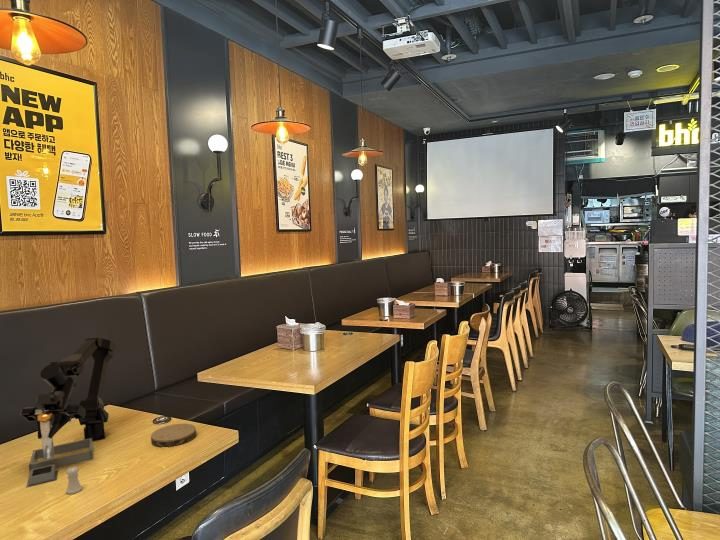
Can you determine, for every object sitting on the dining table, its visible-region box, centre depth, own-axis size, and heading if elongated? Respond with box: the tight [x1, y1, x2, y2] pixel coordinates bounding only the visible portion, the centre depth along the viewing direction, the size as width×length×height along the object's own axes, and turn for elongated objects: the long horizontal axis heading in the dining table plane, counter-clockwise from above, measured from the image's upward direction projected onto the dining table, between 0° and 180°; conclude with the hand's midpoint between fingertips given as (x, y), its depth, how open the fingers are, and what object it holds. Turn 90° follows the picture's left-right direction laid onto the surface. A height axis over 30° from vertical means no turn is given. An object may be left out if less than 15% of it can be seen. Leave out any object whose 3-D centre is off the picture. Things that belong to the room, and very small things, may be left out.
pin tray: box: [28, 438, 94, 471], centre depth 165 cm, size 18×13×4 cm
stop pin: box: [37, 412, 55, 461], centre depth 155 cm, size 4×4×14 cm
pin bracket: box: [25, 464, 59, 488], centre depth 151 cm, size 8×8×4 cm
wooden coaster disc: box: [150, 423, 197, 449], centre depth 181 cm, size 16×16×3 cm
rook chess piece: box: [65, 465, 83, 495], centre depth 143 cm, size 4×4×8 cm
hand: (44, 438), depth 153 cm, fingers closed on stop pin, 3 cm apart
